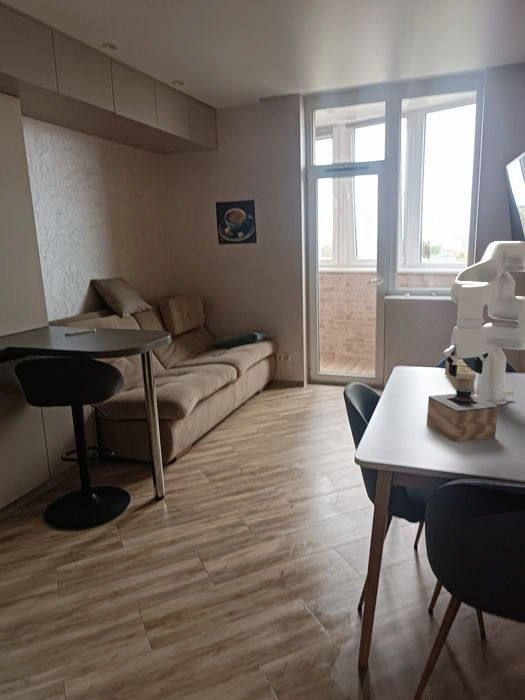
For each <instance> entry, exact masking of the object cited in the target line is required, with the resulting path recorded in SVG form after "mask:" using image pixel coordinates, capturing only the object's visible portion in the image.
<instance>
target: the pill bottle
mask: <svg viewBox="0 0 525 700" xmlns="http://www.w3.org/2000/svg"><path fill="white" fill-rule="evenodd" d="M455 390H456V391H455V394H457V395H455V396H454V398H453V402H454V403H456V404H458V405H470V404H473V398H472V397H471V396H470V395H472V390H470V389H467V388H457V389H455Z"/></svg>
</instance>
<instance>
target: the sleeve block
mask: <svg viewBox="0 0 525 700" xmlns="http://www.w3.org/2000/svg"><path fill="white" fill-rule="evenodd" d="M455 395H457V393H450V394H448V393H447V394H439V395H438V394H437V395H428V401H427V402H428V403H427V416H426V417H427V418H426V426H427V427H429V428H430V429H432V430H434V431H435V432H437V433H439V434H440V435H442V436H444V437H445V438H447V439H448V440H450V441H451V442H453V443H457V442H466V441H474V440H482V439H483V440H484V439H490V438H491V439H492V438H496V433H497V431H496V430H497V422H498V413H499V412H498V411H499V405H494V404H492V403H489V402H487V401H485V400H483V399H480V398H478V397H476V396H474V394H471V395H470V396H471V397H472V398H473V404H470V405H458V404H456V403H454V402H453V398H454V396H455Z"/></svg>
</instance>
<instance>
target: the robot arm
mask: <svg viewBox="0 0 525 700" xmlns="http://www.w3.org/2000/svg"><path fill="white" fill-rule="evenodd" d="M511 272H519V273H521V272H522V273H525V241H523V240H522V241H521V240H509V241H508V240H506V241H505V240H501V241H500V240H499V241H497V240H496V241H493V242H490V243H489V244H488V245H487V247H486V249H485V250H484V252H483V254H482V255H481V258H480V260H479V262H477V263H475V264H473V265H471V266H469V267H467V268H465V269H463V270H461V271H460V272H459V274H457V275H456V277H455V279H454V281H453V283H452V285H451V288H450V293H449V294H450V295H449V297H450V300H451V301H452V302H454V303H455V304H457V316H456V317H457V318H456V326H454V327H453V330H452V334H451V337H450V338H451V339H450V343H449V344H450V345H449V347H448V348H446V349H445V350H443V351H442V355H443V357H444V359H445V361H446V360H447V361H448V363H449V375H451V376H454V377H456V375H457V365H456V363H457V362H458V360H459V359H462V360H463V359H473V358H475V360H474V365H473V366H474V367H473V372H474V373H478V378H477V387H476V388H477V390H476V393H474V394H473V395H474V396H476V397H478V398H480V399H483V400H485V401H487V402H489V403H492V404H494V405H496V406H500V405H501V406H504V405H505V404H506V403H507V401H508V400H507V398H506V397H507V396H513V395H514V392H513V390H505V388H504V387H505V380H506V379H505V378H506V368H507V356H506V354H505V352H504V351H503V349H507V350H516V351H524V350H525V296H523V295H521V296H520V295H515V288H516V281H515V280H514V277H513V276H512V275H511V274H510V273H511ZM484 306H487V315H488V317H489V318H491V319H493V320H499V321H500V320H502V321H509V322H510V321H511V322H517V323H518V324H512V323H502V322H488V323H485V319H484V317H483V316H484ZM484 323H485V324H484Z"/></svg>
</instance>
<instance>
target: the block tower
mask: <svg viewBox="0 0 525 700" xmlns="http://www.w3.org/2000/svg"><path fill="white" fill-rule="evenodd" d="M456 365H457V375H456V377H454V376H451V375H449V363H448V361H447V360H446V359H445V368H444V369H445V370H444V375H445V374H446V375H447V376H446V375H445V376H446V378H447V377H448V378H447V380H448V379H449V380H448V381H449V382H450V384H451V386H452V385H453V386H452V387H453V388H454V390H456V389H457V388H467V389H470V390H471V391H474V389H475V381H476V377H477V374H476V372H474V370H472V369H471V368H470V367H468V364H466V363H465V361H464V360H463V359H459V360H458V362H457V363H456Z"/></svg>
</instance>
